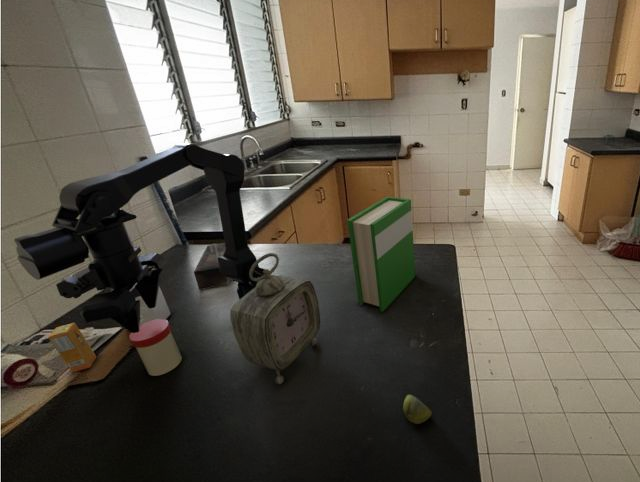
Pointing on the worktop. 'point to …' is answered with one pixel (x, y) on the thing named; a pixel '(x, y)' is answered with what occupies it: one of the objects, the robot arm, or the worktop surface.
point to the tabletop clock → (276, 319)
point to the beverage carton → (210, 267)
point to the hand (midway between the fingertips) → (144, 319)
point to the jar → (152, 313)
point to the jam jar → (160, 356)
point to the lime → (415, 410)
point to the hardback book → (382, 250)
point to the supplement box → (72, 347)
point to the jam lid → (150, 333)
